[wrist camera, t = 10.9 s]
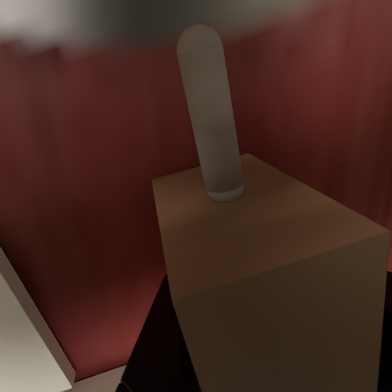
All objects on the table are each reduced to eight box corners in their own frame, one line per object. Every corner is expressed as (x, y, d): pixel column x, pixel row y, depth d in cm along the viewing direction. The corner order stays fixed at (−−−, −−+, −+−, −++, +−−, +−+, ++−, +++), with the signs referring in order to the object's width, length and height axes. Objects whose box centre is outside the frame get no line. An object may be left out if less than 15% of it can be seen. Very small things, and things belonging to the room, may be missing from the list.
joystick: (231, 35, 7) (416, -75, 2) (268, 301, 10) (371, 462, 6) (115, 60, 7) (69, -10, 2) (194, 326, 10) (242, 516, 6)
